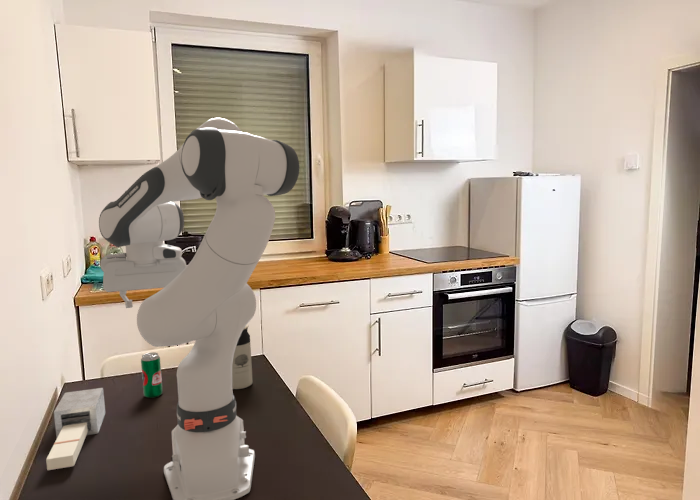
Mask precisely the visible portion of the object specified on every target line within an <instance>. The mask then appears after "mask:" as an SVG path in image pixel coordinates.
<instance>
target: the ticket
mask: <svg viewBox="0 0 700 500" xmlns="http://www.w3.org/2000/svg"><path fill="white" fill-rule="evenodd" d="M87 432H88V430H87V422H86V423H79V424H73V425H66V426H63V428H62V430H61V432H60V434H59V436H58V437H56V440H55V442H54V443H53V445H52V447H51V449H50V451H49V452H48V453H49V454H48V455H47V457H46V460H45V461H46V469H47V471H51V470H56V469H57V470H59V469H63V468H70V467H74V466H75V464H76V463H77V459H78V457H79V455H80V452H81V450H82V447H83V445H84V442H85V439H86V437H87V436H88V435H87Z"/></svg>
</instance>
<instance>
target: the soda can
mask: <svg viewBox="0 0 700 500" xmlns="http://www.w3.org/2000/svg"><path fill="white" fill-rule="evenodd" d="M140 366H141V375H142V376H141V378H142V388H143V396H144V397H145V398H147V399H156V398H158V397H160V396H162V394H163V382H162V381H163V379H162V369H161V368H162V366H161V357H160V354H159V353H158V352H152V351H151V352H147V353H144V354H141V358H140Z"/></svg>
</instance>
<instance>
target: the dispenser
mask: <svg viewBox="0 0 700 500" xmlns="http://www.w3.org/2000/svg"><path fill="white" fill-rule="evenodd" d="M105 404H106V403H105V394H104V387H98V388H91V389H83V390H74V391H68V392H64V394H63V395H62V397H61V399H60V400H59V402H58V404H57V406H56V407H55V409H54V411H53V417H54V426H55V435H56V438H57V437H58V436H59V434H60V432H61V430H62V428H63V426H66V425H73V424H79V423H86V422H87V430H88V432H87V435H86V436H90V435H95V434H99V432H100V429H101V428H102V423H103V421H104V419H105V415H106V405H105Z"/></svg>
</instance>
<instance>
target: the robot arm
mask: <svg viewBox="0 0 700 500" xmlns="http://www.w3.org/2000/svg"><path fill="white" fill-rule="evenodd" d="M299 175H300V160H299V157H298V153H297V151H295V149H294V148H293V147H292V146H290V145H289V144H287V143H284V142H282V141H280V140H277V139H269V138H265V137H262V136H259V135H254V134H251V133H249V132H245V131H244V132H243V131H242V129H241V128H240V127H239V126H237V124H236V123H234V122H232V120H229V119H227V118H222V117H214V118H213V117H212V118H210V119H208V120H207V121H204V122H203V123H202V124H201V125H199V126H198V127H197V128H195V129H194V130H192V131H191V132H190V133H189V135H187V137H186V138H185V139H184V142H183V143H182V145H181V146H179V148H178V149H177V151H175V152H174V153H173V154H171V156H169V157H168V158H166V159H165V160H164V161H163V162H161V163H159V164H158V165H156V166H154V167H152V168H151V169H149V170H147V171H146V172H144V173H143V174H141V176H139V178H137V180H136V181H134V182H133V183H132V185H130V186H129V187H128V188H127V190H125V191H124V192H123V194H121V196H120V197H119V198H117V199H116V200H114V201H110V202H109V203H107V204H106V206H105V207H104V208H103V209H102V210H101V212H100V214H99V217H98V228H99V232H100V234H101V236H102V238H103V239H104V240H106V241H107V242H108V243H109V244H111V245H113V246H114V247H117V248H120V247H125V252H122V253H108V254H106V255H105V256H103V257H102V258H101V259H100V269H101V271H102V272H103V275H102V276H103V277H102V278H103V279H102V281H103V282H102V285H103V286H102V287H103V289H104V291H105V292H106V293H107V292H108V293H112V292H119V296H120V297H121V299H122V300H123V301H124V303H125V308H126V309H131V308H133V307H134V306H133V305H134V304H133V299H129V297H127V293H128V291H136V290H139V291H140V290H151V289H160V290H158V292H157V291H156V293H154V294H152V295H150V296H149V297H147V298H145V299H144V300H143V301H142V302H141V303H140V305H139V308H138V309H137V310H138V311H137V314H136V324H137V325H136V326H137V329H138V332H139V333H140V335H141V337H142V339H143V340H144V341H146V342H147V343H148V344H149V345H151V346H153V347H170V346H171V347H174V346H180V345H184V344H188V343H191V342H194V341H195V342H194V344H193V346H192V348H191V350H189V353H187V355H186V356H185V357H184V358H183V359H182V360H181V361H179V364H178V366H177V370H176V384H177V397H178V399H177V400H178V402H177V404H176V417H177V418H176V419H177V425H176V426H175V427H174V428H172V430H171V444H172V446H171V447H172V455H171V458H170V460H171V461H170V462H167V463H166V464H165V465H164V466H163V474H164V477H165V480H166V483H167V485H168V488H169V489H168V490H169V492H170V494H171V498H172V500H236V499H239V498H242V497H243V496H245V495H247V494H249V493H250V491H251V487H252V481H253V473H254V467H255V466H254V465H255V458H256V453H255V449H252V448H249V447H250V446H249V445H248V444H245V439H246V438H247V431H246V430H245V429H244V428H245V427H244V420H243V418H241V417H239V416H238V415H237V401H236V397H235V395H234V393H233V390H234V389H233V388H232V363H233V356H234V352H235V348H236V345H237V342H238V340H239V337H240V335H241V333H242V331H243V329H244V328H245V326H246V325H247V324H248V325H249V322H251V320H252V319H253V317H254V316H255V313H256V309H257V298H256V295H255V292H254V290H253V289H252V287H251V286H250V285H249V283H248V282H249V280H250V278H251V276H252V274H253V272H254V271H255V269H256V267H257V265H258V263H259V262H260V259H261V257H262V256H263V254H264V252H265V250H266V247H267V245H268V243H269V240H270V238H271V236H272V232H273V229H274V225H275V221H276V211H275V208H274V205H273V204H272V202H271V201H270V200H269V199H268V198H267V197H266V196H268V197H276V196H282V195H285V194H287V193H289V192H291V191H292V190H293V188H294V187H295V185H296V183H297V182H298V179H299ZM265 195H266V196H265ZM197 199H198V200H199V199H205V200H206V201H213V200H214V199H215V200H216V208H215V209H216V210H215V212H214V215H213V217H212V220H211V222H210V223H209V225H208V227H207V230H206V231H205V234H204V236H203V238H202V240H201V242H200V244H199V246H198V248H197V250H196V252H195V254H194V256H193V258H192V259H191V261H190V262H189V263H188V264H187V262H186V259H184V258H183V257H182V255H183V250H182V248H180V247H179V246H174V245H170V244H166V243H164V241H171V240H174V239H177V238H178V237H179V236H180V235H181V234H182V232H183V230H184V228H185V217H184V216H185V215H184V212H183V209H181V207H180V206H179V205H178V204H177V203H176V202H180V201H190V200H197ZM161 288H162V289H161ZM244 430H245V431H244Z"/></svg>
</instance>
